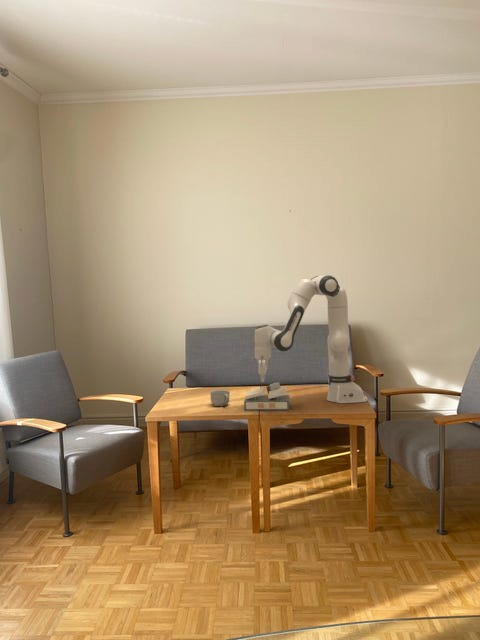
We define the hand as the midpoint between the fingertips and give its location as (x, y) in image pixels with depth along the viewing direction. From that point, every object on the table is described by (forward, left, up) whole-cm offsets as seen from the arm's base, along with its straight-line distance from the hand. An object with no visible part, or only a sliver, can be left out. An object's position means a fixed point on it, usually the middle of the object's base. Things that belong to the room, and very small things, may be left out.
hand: (263, 380), depth 300 cm
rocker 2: (-8, 0, -8) cm, 11 cm away
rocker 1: (+4, 0, -8) cm, 9 cm away
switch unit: (-2, 0, -15) cm, 15 cm away
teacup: (+24, -4, -15) cm, 29 cm away
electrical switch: (-5, -20, -15) cm, 26 cm away
